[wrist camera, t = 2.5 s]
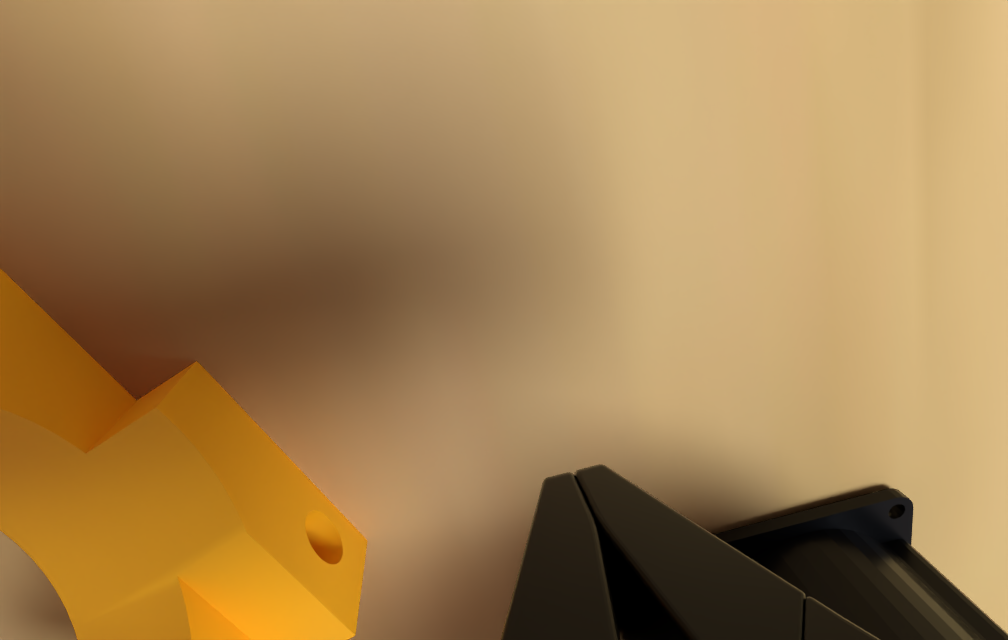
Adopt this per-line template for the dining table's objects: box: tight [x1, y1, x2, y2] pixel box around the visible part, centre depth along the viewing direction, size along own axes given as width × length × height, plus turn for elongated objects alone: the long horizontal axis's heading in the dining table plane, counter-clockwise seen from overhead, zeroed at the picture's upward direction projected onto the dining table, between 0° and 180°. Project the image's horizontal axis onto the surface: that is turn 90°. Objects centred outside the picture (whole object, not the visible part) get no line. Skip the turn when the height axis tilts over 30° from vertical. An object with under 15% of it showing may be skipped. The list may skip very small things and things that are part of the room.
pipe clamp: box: [0, 269, 367, 640], centre depth 11 cm, size 12×4×6 cm, turn 32°
